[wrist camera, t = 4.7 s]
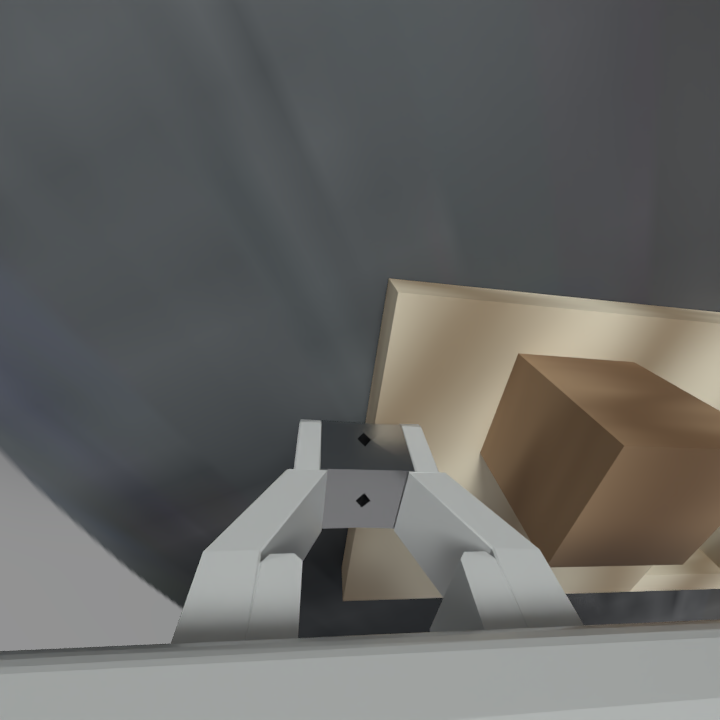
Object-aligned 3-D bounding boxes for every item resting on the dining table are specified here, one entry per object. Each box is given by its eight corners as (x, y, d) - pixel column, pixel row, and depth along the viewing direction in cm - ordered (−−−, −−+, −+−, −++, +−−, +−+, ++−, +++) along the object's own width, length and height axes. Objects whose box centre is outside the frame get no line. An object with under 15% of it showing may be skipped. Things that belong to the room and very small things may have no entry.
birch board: (968, 337, 13) (1039, 354, 12) (731, 560, 20) (759, 587, 19) (388, 278, 10) (398, 292, 9) (341, 568, 17) (342, 600, 15)
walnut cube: (634, 362, 10) (791, 452, 7) (580, 456, 12) (682, 565, 9) (518, 353, 10) (623, 445, 6) (480, 452, 12) (545, 567, 8)
